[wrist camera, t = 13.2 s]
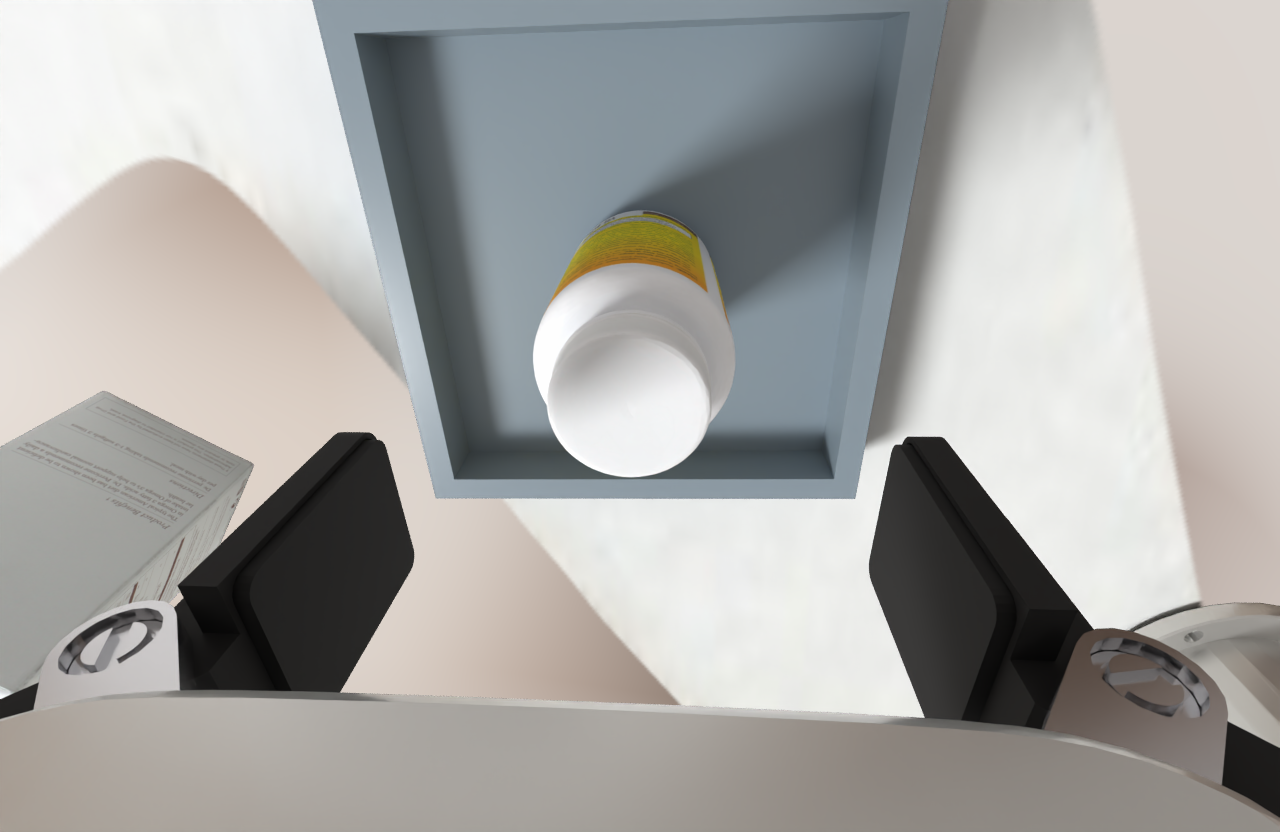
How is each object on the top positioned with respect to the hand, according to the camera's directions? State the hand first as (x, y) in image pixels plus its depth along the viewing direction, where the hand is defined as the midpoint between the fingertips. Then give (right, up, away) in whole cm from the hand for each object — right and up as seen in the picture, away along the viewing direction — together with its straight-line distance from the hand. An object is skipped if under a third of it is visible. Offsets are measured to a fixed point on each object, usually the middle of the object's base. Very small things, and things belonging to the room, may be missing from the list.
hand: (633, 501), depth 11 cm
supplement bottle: (0, +7, +12) cm, 14 cm away
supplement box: (-24, -1, +19) cm, 30 cm away
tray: (0, +7, +12) cm, 14 cm away
